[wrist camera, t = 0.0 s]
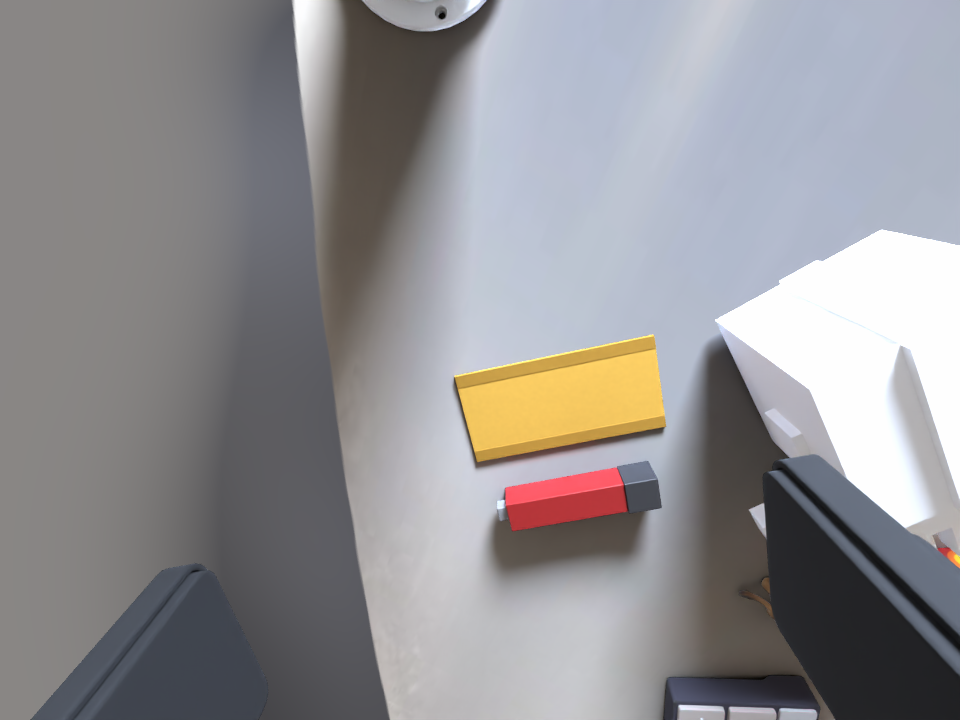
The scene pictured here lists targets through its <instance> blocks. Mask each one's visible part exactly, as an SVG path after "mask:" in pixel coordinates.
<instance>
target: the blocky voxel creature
mask: <svg viewBox="0 0 960 720" xmlns="http://www.w3.org/2000/svg"><path fill="white" fill-rule="evenodd" d="M779 282H780V284H781V285H779V286H777V287H776V288H774V289H772V290H770V291H768V292H766V293H765V294H763V295H761V296H759V297H757V298H755V299H753V300H752V301H750V302H748V303H746V304H744V305H742V306H741V307H739V308H737V309H735V310H733V311H731V312H730V313H728V314H726V315H724V316H722V317H720V318H719V319H717V320H715V321H716V323H717V325H718V327H719V329H720V331H721V333H722V335H723V337H724V339H725V342H726V344H727V346H728V348H729V350H730V352H731V354H732V356H733V358H734V361H735V363H736V365H737V367H738V369H739V371H740V373H741V375H742V377H743V379H744V382H745V384H746V386H747V388H748V390H749V392H750V394H751V396H752V398H753V400H754V403H755V405H756V407H757V409H758V411H759V413H760V415H761V417H762V419H763V422H764V424H765V426H766V428H767V430H768V432H769V434H770V436H771V438H772V440H773V441H774V442H775V443H776V444H777V445H778V446H779V447H780V448H781V449H782V450H783V451H784V452H785V453H786V454H787V455H788V456H789V457H790V458H794V457H799V456H805V455H811V454H816V455H818V456H820V457H822V458H823V459H824V460H825V461H826V462H828V463H829V464H830V465H831V466H832V467H834V468H835V469H836V470H837V471H838V472H839V473H841V474H842V475H843V476H844V477H845V478H846V479H848V480H849V481H850V482H851V483H852V484H854V485H855V486H856V487H857V488H858V489H859V490H861V491H862V492H863V493H864V494H865V495H867V496H868V497H869V498H870V499H871V500H872V501H874V502H875V503H876V504H877V505H878V506H880V507H881V508H882V509H883V510H884V511H885V512H887V513H888V514H889V515H890V516H891V517H892V518H894V519H895V520H896V521H897V522H898V523H900V524H901V525H902V526H903V527H904V528H905V529H907V530H908V531H909V532H910V533H911V534H915V535H918V536H919V537H921V538H922V539H924V540H925V541H927V542H928V543H930V544H931V545H932V546H933V547H935V548H936V549H937V546H936V544H935V541H934V538H933V535H935V534H937V533H938V536H939V539H940V541H942V542H943V543H944V544H945V545H946V546H948V547H949V548H950V549H951V550H952V551H953V552H955V553H956V554H957V555H958V556H959V557H960V246H957V245H952V244H947V243H943V242H938V241H933V240H928V239H923V238H919V237H914V236H909V235H904V234H899V233H895V232H890V231H885V230H880V231H878V232H876V233H875V234H873V235H871V236H869V237H867V238H865V239H864V240H862V241H860V242H858V243H856V244H854V245H853V246H851V247H849V248H847V249H845V250H843V251H842V252H840V253H838V254H836V255H834V256H832V257H831V258H829V259H827V260H825V261H823V262H820V261H818V260H817V261H815V262H813V263H811V264H809V265H808V266H806V267H804V268H802V269H800V270H799V271H797V272H795V273H793V274H791V275H789V276H788V277H786V278H784V279H782V280H780V281H779ZM749 511H750V513H751V515H752V517H753V519H754V520H755V522H756V524H757V526H758V528H759V529H760V531H761V532H762V533H763V535H764V536H765V537H766V524H765V509H764V503H762V504H760V505H758V506H756V507H754V508H752V509H749ZM937 550H938V549H937Z"/></svg>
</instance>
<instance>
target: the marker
mask: <svg viewBox="0 0 960 720" xmlns="http://www.w3.org/2000/svg"><path fill="white" fill-rule="evenodd" d="M505 498H506V499H505V500H500V501H497V511H498V515H499V519H500V521H504V520H509V521H510V525H511V529H512V531H518V530H524V529H529V528H535V527H541V526H547V525H553V524H558V523H564V522H570V521H576V520H582V519H588V518H593V517H599V516H605V515H611V514H617V513H622V512H629V513H636V512H642V511H648V510H653V509H659V508H662V506H661V499H660V492H659V485H658V479H657V477H656V475H655V473H654V471H653V469H652V468H651V466H650V464H649V462H648V461H645V462H639V463H634V464H628V465H623V466H618V467H617V468H611V469H606V470H600V471H595V472H589V473H584V474H578V475H573V476H567V477H562V478H556V479H551V480H545V481H540V482H534V483H529V484H523V485H518V486H512V487H507V488H505Z"/></svg>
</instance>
